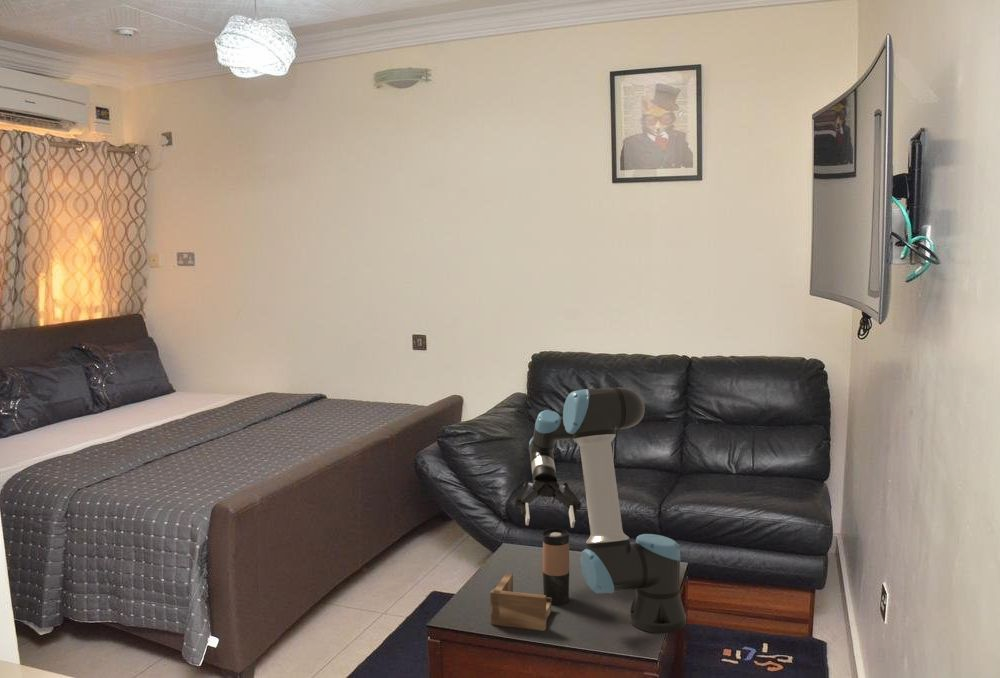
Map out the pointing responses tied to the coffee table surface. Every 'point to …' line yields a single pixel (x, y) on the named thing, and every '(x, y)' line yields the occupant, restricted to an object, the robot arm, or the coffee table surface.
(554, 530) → the travel mug
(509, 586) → the wooden holder
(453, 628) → the coffee table surface
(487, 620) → the coffee table surface
